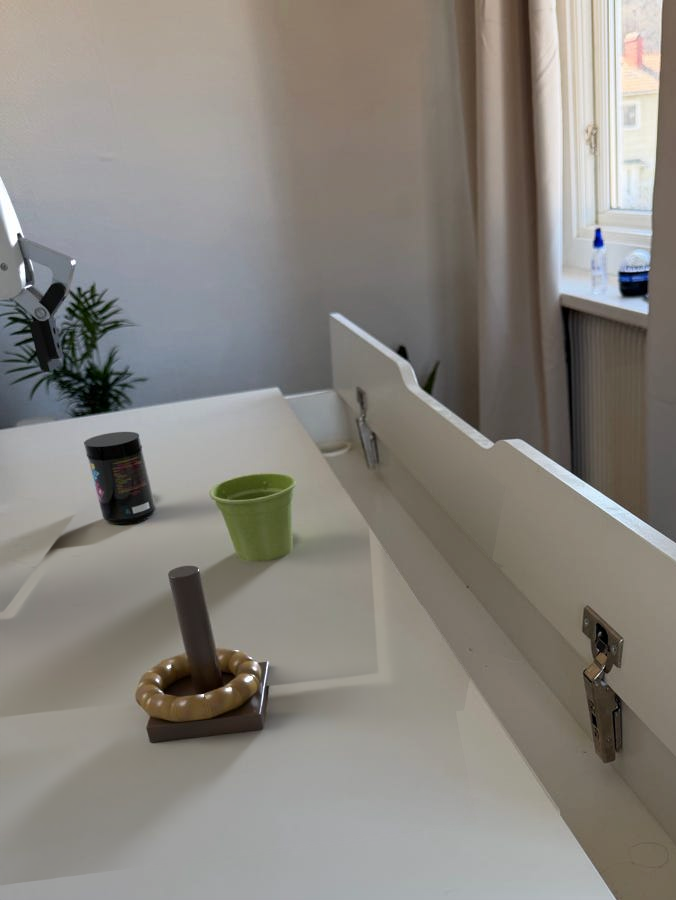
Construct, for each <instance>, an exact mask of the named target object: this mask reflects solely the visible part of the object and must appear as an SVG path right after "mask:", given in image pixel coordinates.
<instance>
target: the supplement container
mask: <svg viewBox="0 0 676 900" xmlns="http://www.w3.org/2000/svg"><path fill="white" fill-rule="evenodd" d="M140 437H141V436H140V434H139V433H138V432H134V431H117V432H116V431H115V432H108V433H103V434H99V435H96V436H92V437H90V438H87V439H86V440H84V442H83V446H84V449H85V453H86V454H85V455H86V457H87V460H88V464H89V468H90V472H91V476H92V480H93V485H94V487H95V492H96V495H97V496H96V497H97V499H98V503H99V507H100V512H101V515H102V518H103V520H104V521H105V522H106V523H108V524H110V523H111V525H116V524H125V525H130V524H129V523H132V524H136V523H135V522H137V523H139V522H138V521H141V522H143V521H145V520H144V519H146V520H148V519H149V518H148V517H150V516H151V517H153V516H154V515H155V512H156V504H155V499H154V495H153V491H152V486H151V482H150V478H149V473H148V469H147V466H146V460H145V456H144V451H143V445H142V442H141V438H140ZM151 517H150V518H151ZM147 518H148V519H147ZM142 520H143V521H142Z"/></svg>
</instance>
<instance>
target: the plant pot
mask: <svg viewBox="0 0 676 900" xmlns="http://www.w3.org/2000/svg"><path fill="white" fill-rule="evenodd" d="M296 484H297V482H296V479H295V477H293V476H291V475H289V474H286V473H279V472H278V473H277V472H263V473H251V474H245V475H240V476H236V477H232V478H230V479H226V480H224V481H221V482H220V483H217V484H215V485H214V486H213V487H211V489H210V490H209V493H208V494H209V497H210V498H211V500H213V501H214V502H215V504H216V506H217V508H218V510H219V511H220V513H221V515H222V517H223V520H224V522H225V525H226V528H227V531H228V534H229V536H230V539H231V542H232V545H233V548H234V551H235V554H236V557H237V558H238V559H240V560H241V561H244V562H252V563H254V562H255V563H256V562H257V563H258V562H259V563H260V562H268V561H273V560H276V559H280V558H282V557H285V556H286V555H288V554H290V553H291V552H292V551H293V549H294V548H293V519H292V517H293V515H292V514H293V513H292V500H293V498H294V488H296Z"/></svg>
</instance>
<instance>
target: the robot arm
mask: <svg viewBox="0 0 676 900" xmlns="http://www.w3.org/2000/svg"><path fill="white" fill-rule="evenodd" d="M33 262H34V263H37V264H38V265H42V266H43V267H46V268H49V269H50V271H51V273H52V277H51V283H50V286H48V289H47V290H46V291H45V293H43V291H41V290H40V289H39V288H37V287H36V286H35V283H36V276H35V270H34V267H33ZM75 269H76V260H75V259H74V258H73V257H71V256H70V255H67V254H65V253H62V252H60V251H57V250H56V249H55V250H54V249H52V248H49V247H47V246H45V245H43V244H40V243H38V242H35V241H33V240H30V239H27V238H25V236H24V233H23V230H22V226H21V224H20V221H19V218H18V215H17V213H16V210H15V208H14V205H13V203H12V200H11V197H10V195H9V193H8V191H7V188H6V186H5V183H4V181H3V179H2V177H1V175H0V302H1V301H6V300H11V299H12V300H13V301H14V302H16V304H18V305H19V306H21V307H22V309H24V310H25V311H26V312H28V314H30V315H31V317H32V321H31V322H30V323H28V324H29V330H30V333H31V334H30V335H31V338H32V341H33V346H34V349H35V353H36V356H37V360H38V363H39V368H40V370H41V371H43V372H44V373H48V372H53V371H54V370H56V368H58V367H59V366H60V360H61V359H62V358H63V356H64V354H63V347H62V343H61V340H60V335H59V331H58V328H57V323H56V319H55V317H54V316H55V315H57V313H58V310H59V309H60V307H61V306H62V304H63V303H64V301H65V300H66V298H67V297H68V295H69V294H70V291H71V289H70V288H71V285H72V281H73V276H74V274H75V273H74V272H75Z"/></svg>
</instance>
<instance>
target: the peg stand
mask: <svg viewBox="0 0 676 900" xmlns="http://www.w3.org/2000/svg"><path fill="white" fill-rule="evenodd" d="M167 577H168V581H169V587H170V591H171V594H172V599H173V602H174V606H175V613H176V616H177V620H178V621H177V622H178V625H179V629H180V633H181V638H182V639H181V640H182V642H183V647H184V653H186V656H187V660H188V665H189V669H190V673H191V675H190V676H188V677H185V678H182V679H179V680H176V681H174V682H173V683H172V684H170V685H169V686H168V687H166V688H165V689H164V690H163V693H164V694H168V695H173V696H178V697H182V696H190V695H199V694H205V693H207V692H210V691H213V690H215V689H218V688H221V687H224V686H226V685H227V684H228V683H229V682H231V681H232V680H233V679H234V678H235V677H236V676H235V675H234V674H232V673H226V672H221V669H220V665H219V660H218V655H217V651H216V648H217V646H216V642H215V637H214V632H213V627H212V621H211V619H210V614H209V609H208V604H207V599H206V595H205V590H204V586H203V581H202V575H201V571H200V568H199V567H198V566H196V565H183V566H178V567H174V568H172V569H171V570H170V571H168V573H167ZM257 663H258V664H259V665H260V667H261V678H260V684H259V688H258V690H257V692H256V693H255V694H253V695H252V696H251V697H250V698H249V699H248V700H246V701H245V702H244V703H243V704H242V705H240V706H239V707H238V708H236V709H233V710H230V711H228V712H225V713H223V714H220V715H218V716H215V717H212V718H209V719H202V720H194V721H185V722H174V721H169V720H164V719H159V718H154V717H151V716H149V718H148V720H147V724H146V726H145V729H146V732H147V736H148V741H149V742H150V743H157V742H166V741H167V742H168V741H175V740H184V739H192V738H199V737H200V738H201V737H209V736H217V735H218V736H219V735H224V734H225V735H226V734H234V733H241V732H242V733H243V732H250V731H259V730H264V729H265V728H264V726H265V720H266V712H267V705H268V698H269V691H270V685H267V684H268V678H269V672H270V663H269V661H259V662H257Z"/></svg>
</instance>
